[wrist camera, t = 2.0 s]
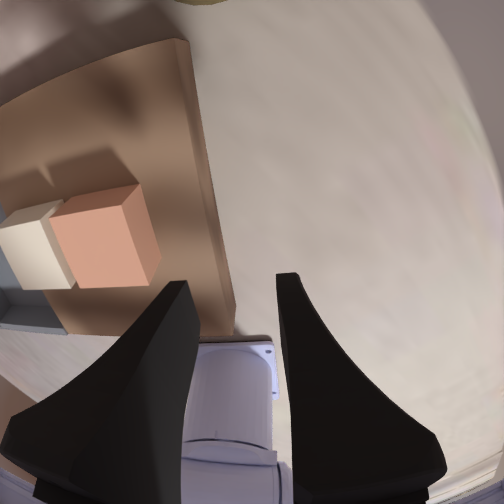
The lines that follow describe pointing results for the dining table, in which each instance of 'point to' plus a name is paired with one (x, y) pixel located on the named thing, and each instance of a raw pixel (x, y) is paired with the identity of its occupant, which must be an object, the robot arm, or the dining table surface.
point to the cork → (200, 2)
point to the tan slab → (124, 176)
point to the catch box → (24, 303)
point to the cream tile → (35, 248)
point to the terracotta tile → (108, 238)
